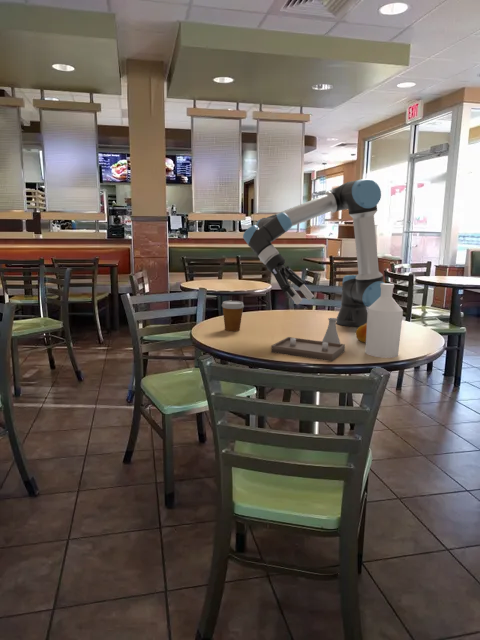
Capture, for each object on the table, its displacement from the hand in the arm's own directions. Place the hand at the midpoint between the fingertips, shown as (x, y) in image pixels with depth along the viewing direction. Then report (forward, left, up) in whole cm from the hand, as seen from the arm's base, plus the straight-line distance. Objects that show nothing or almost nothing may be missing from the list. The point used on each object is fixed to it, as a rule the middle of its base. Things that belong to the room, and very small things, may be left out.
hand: (305, 300), depth 182 cm
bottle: (-19, +25, -16) cm, 35 cm away
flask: (-8, +8, -16) cm, 20 cm away
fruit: (-23, +9, -16) cm, 29 cm away
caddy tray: (+6, +17, -16) cm, 24 cm away
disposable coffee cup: (+22, -24, -16) cm, 37 cm away
